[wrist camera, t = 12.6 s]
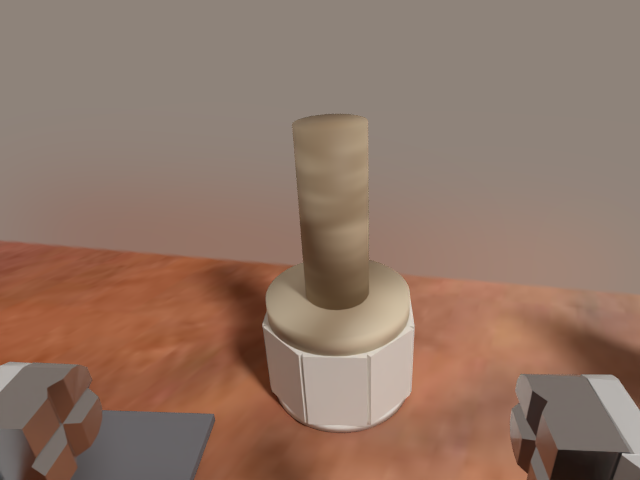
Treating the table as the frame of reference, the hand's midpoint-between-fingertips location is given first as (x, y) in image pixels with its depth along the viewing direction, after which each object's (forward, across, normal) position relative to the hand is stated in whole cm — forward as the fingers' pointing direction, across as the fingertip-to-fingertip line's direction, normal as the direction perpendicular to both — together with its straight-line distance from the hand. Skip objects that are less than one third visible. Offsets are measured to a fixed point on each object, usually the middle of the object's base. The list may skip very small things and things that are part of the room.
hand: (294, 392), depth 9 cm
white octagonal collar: (+12, 0, +11) cm, 16 cm away
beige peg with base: (+12, 0, +7) cm, 14 cm away
